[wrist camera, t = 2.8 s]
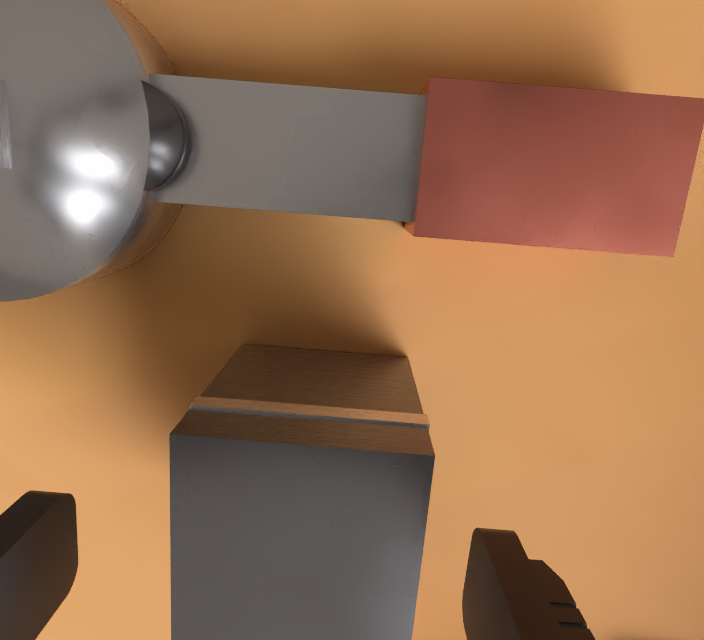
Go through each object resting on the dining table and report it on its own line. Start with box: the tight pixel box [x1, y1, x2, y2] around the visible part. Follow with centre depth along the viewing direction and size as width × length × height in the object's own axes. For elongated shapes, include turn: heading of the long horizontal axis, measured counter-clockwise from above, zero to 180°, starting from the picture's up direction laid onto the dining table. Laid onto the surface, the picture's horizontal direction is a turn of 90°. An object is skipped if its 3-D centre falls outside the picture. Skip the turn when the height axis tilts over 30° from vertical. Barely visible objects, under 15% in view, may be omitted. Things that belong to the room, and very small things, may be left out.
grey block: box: [170, 344, 435, 640], centre depth 13 cm, size 5×5×6 cm
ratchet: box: [0, 0, 704, 301], centre depth 11 cm, size 20×8×6 cm, turn 86°
